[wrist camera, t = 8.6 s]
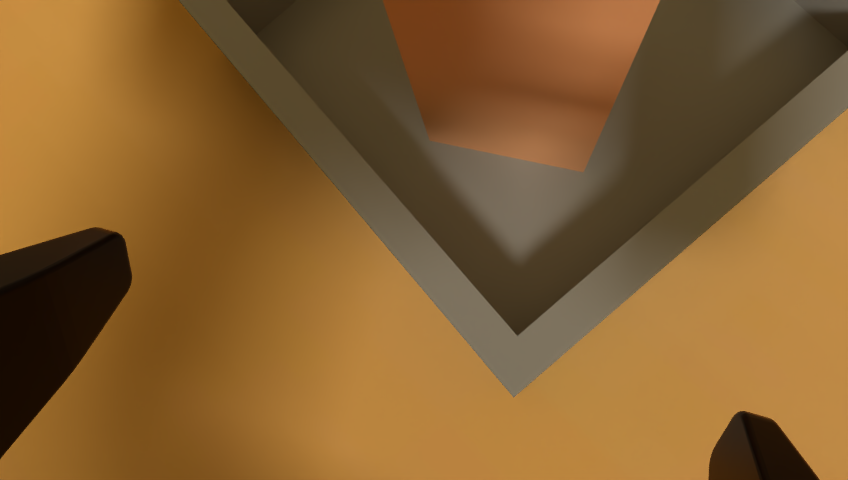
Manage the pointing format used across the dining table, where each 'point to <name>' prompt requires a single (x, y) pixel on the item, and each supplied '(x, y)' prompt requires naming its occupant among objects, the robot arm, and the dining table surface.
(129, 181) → the dining table surface
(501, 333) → the tray
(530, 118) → the block
